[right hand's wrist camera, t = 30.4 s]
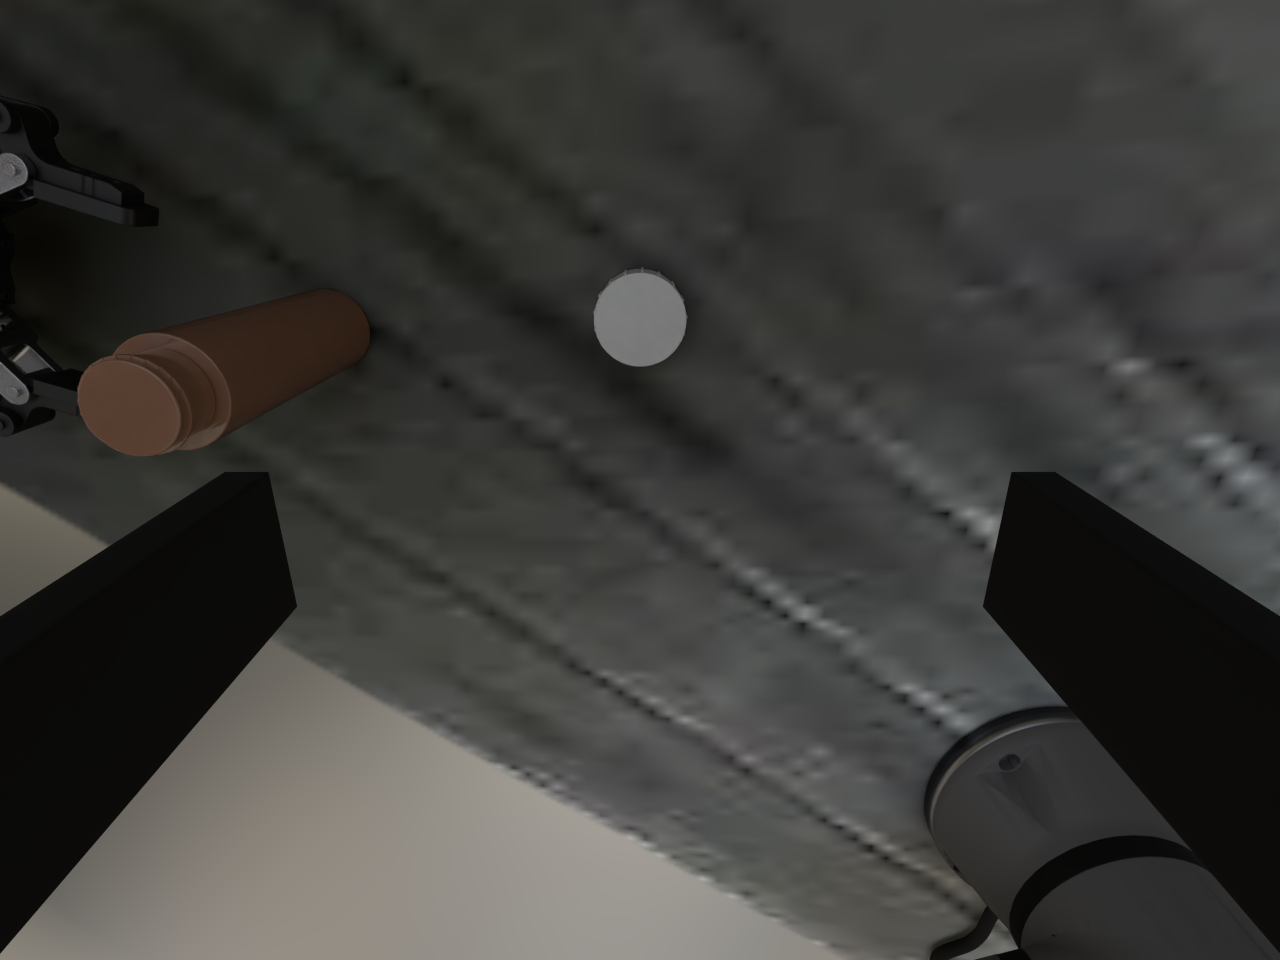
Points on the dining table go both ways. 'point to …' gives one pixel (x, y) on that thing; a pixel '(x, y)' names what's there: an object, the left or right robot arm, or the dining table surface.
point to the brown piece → (219, 371)
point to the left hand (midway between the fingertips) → (141, 315)
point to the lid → (640, 317)
